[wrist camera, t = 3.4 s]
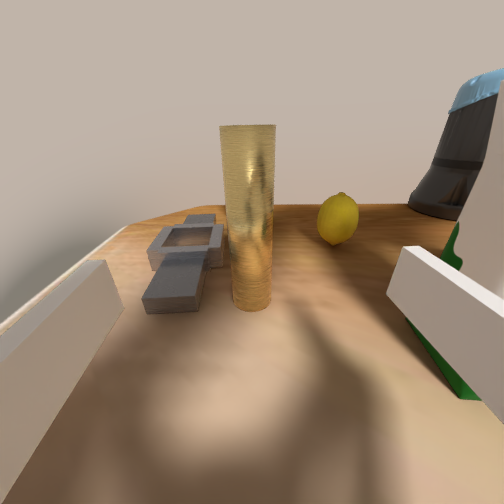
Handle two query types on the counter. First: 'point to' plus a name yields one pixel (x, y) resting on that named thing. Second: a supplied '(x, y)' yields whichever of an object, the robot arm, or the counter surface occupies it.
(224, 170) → the link pin
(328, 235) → the lemon
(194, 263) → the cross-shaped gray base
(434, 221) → the counter surface
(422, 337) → the milk carton
